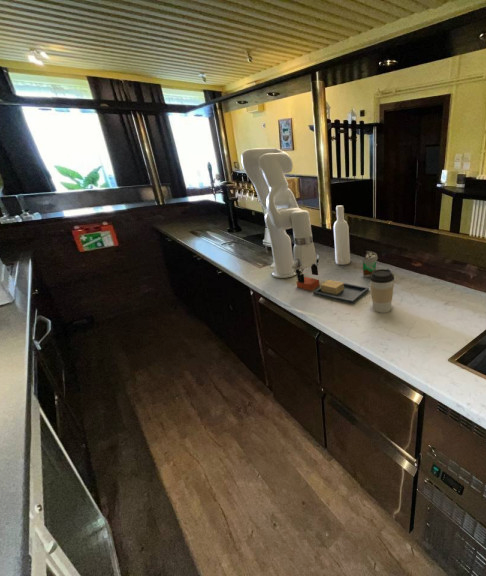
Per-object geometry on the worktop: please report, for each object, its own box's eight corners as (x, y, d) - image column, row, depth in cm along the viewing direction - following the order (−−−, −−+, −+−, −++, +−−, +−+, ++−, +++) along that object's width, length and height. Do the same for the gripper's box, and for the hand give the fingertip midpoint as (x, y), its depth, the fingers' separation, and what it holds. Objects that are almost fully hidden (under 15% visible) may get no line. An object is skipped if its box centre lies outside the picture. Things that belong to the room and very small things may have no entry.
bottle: (333, 264, 161) (329, 207, 149) (339, 259, 168) (335, 204, 155) (347, 265, 159) (343, 207, 146) (352, 260, 165) (350, 204, 152)
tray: (313, 295, 128) (313, 291, 127) (331, 283, 138) (331, 280, 137) (352, 304, 118) (352, 301, 118) (368, 291, 129) (368, 287, 128)
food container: (376, 279, 140) (375, 259, 136) (363, 279, 141) (362, 259, 137) (379, 270, 151) (379, 251, 146) (367, 269, 152) (366, 250, 148)
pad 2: (321, 291, 130) (320, 284, 129) (328, 286, 134) (328, 279, 133) (336, 295, 126) (335, 288, 125) (344, 289, 131) (343, 282, 129)
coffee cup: (378, 316, 110) (377, 278, 103) (365, 306, 117) (364, 270, 111) (398, 309, 113) (399, 272, 107) (385, 300, 121) (385, 265, 114)
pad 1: (297, 288, 135) (296, 281, 134) (305, 283, 140) (304, 276, 139) (311, 291, 131) (310, 284, 130) (319, 286, 136) (318, 279, 135)
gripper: (309, 235, 135) (313, 271, 142) (282, 245, 122) (288, 284, 128) (322, 236, 131) (326, 273, 138) (296, 246, 118) (302, 286, 125)
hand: (308, 278), depth 133 cm, fingers open, 9 cm apart
